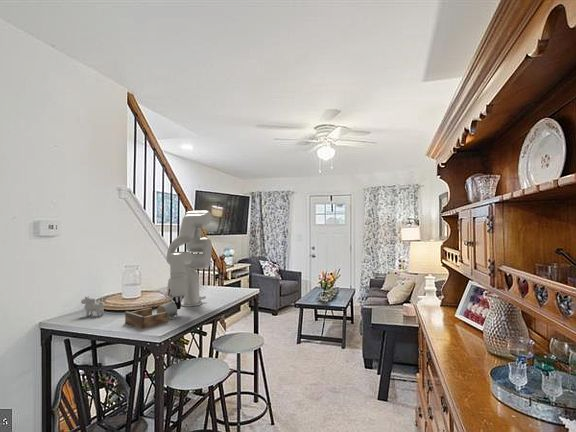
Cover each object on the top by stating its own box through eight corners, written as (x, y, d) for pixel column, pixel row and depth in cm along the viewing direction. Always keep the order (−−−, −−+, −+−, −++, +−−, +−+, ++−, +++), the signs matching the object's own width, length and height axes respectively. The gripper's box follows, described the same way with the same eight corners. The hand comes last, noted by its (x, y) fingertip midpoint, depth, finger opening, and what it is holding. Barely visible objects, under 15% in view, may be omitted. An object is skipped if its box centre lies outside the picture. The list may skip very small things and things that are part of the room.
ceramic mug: (155, 318, 179) (155, 303, 179) (168, 314, 186) (168, 300, 186) (169, 321, 174) (169, 306, 174) (181, 317, 181) (181, 303, 181)
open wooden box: (150, 316, 182) (150, 306, 182) (167, 322, 172) (167, 310, 172) (125, 323, 172) (125, 311, 172) (141, 328, 161) (141, 317, 161)
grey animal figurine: (85, 313, 192) (85, 295, 192) (106, 314, 190) (106, 295, 190) (78, 316, 187) (78, 297, 187) (99, 316, 185) (99, 297, 185)
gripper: (185, 273, 194) (185, 305, 194) (161, 276, 183) (161, 310, 182) (193, 274, 190) (193, 307, 189) (169, 277, 178) (169, 312, 177)
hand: (177, 308), depth 186 cm, fingers closed
